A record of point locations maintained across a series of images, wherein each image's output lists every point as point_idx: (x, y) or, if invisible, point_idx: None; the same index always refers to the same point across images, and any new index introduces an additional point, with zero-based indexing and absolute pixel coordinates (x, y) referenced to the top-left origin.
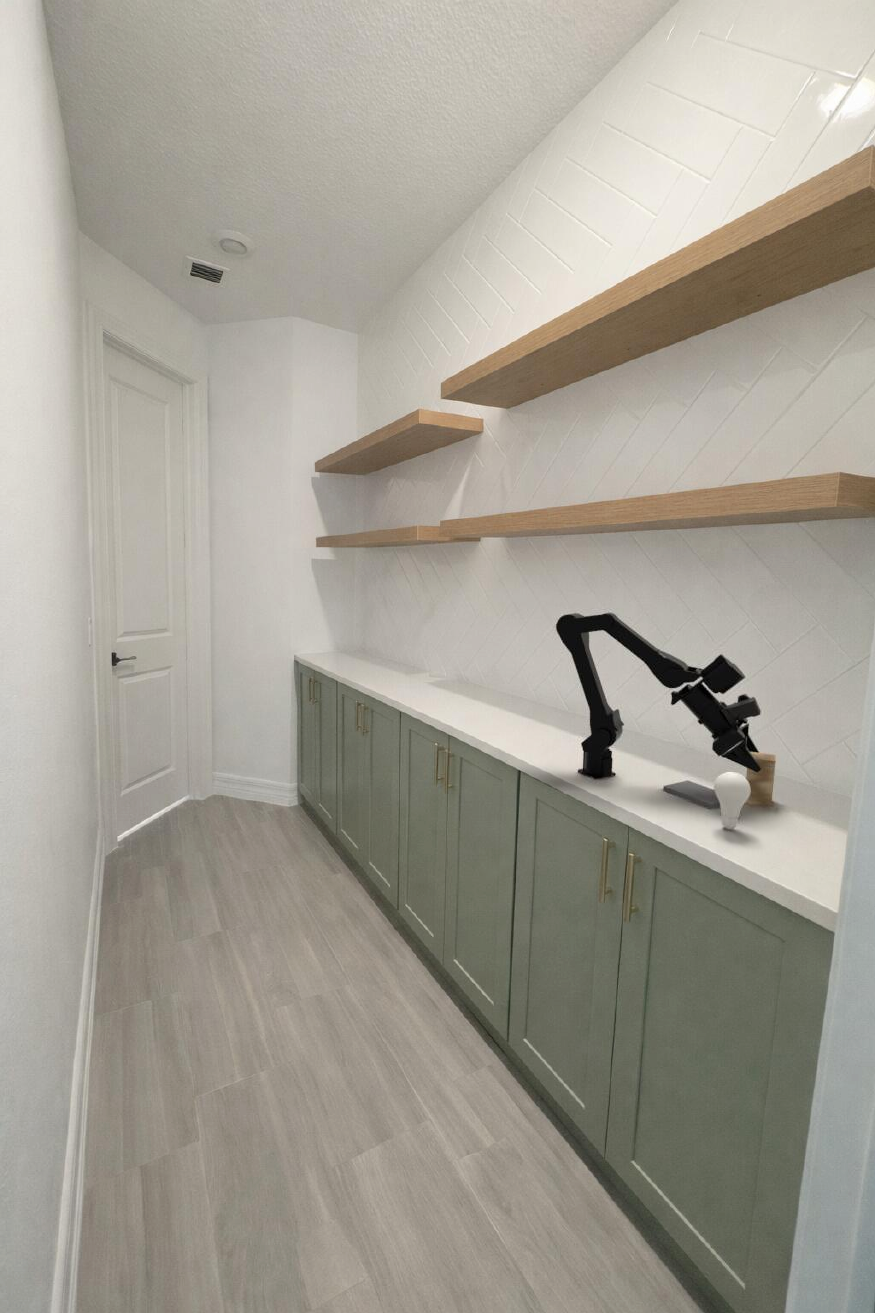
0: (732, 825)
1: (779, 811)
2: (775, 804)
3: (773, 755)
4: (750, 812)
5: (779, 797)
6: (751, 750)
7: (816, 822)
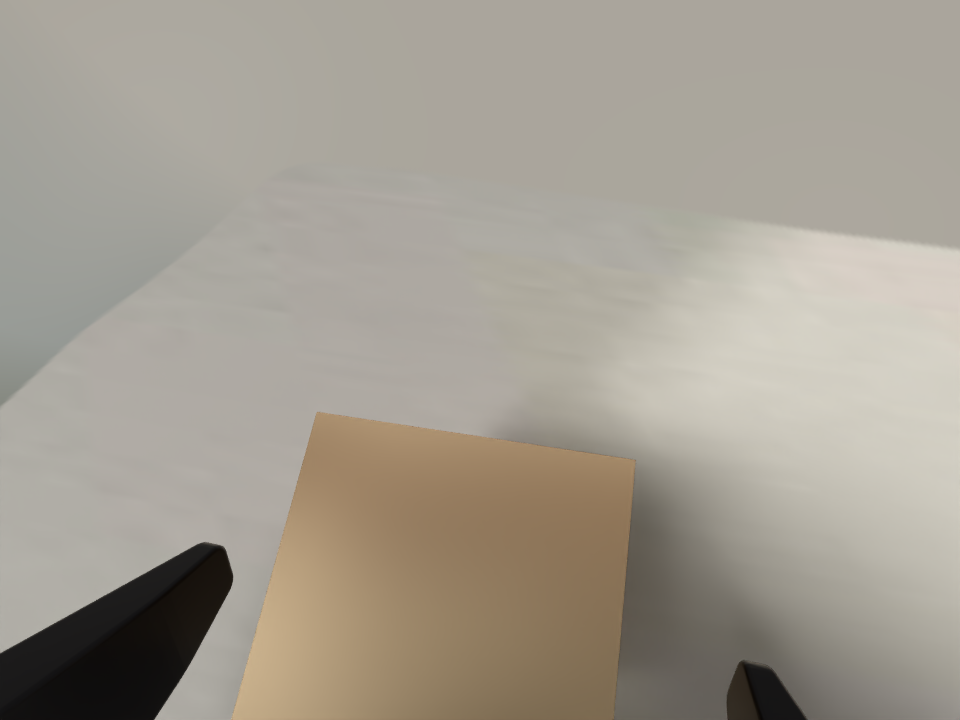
0: None
1: None
2: None
3: (344, 439)
4: None
5: None
6: (117, 693)
7: (723, 299)
